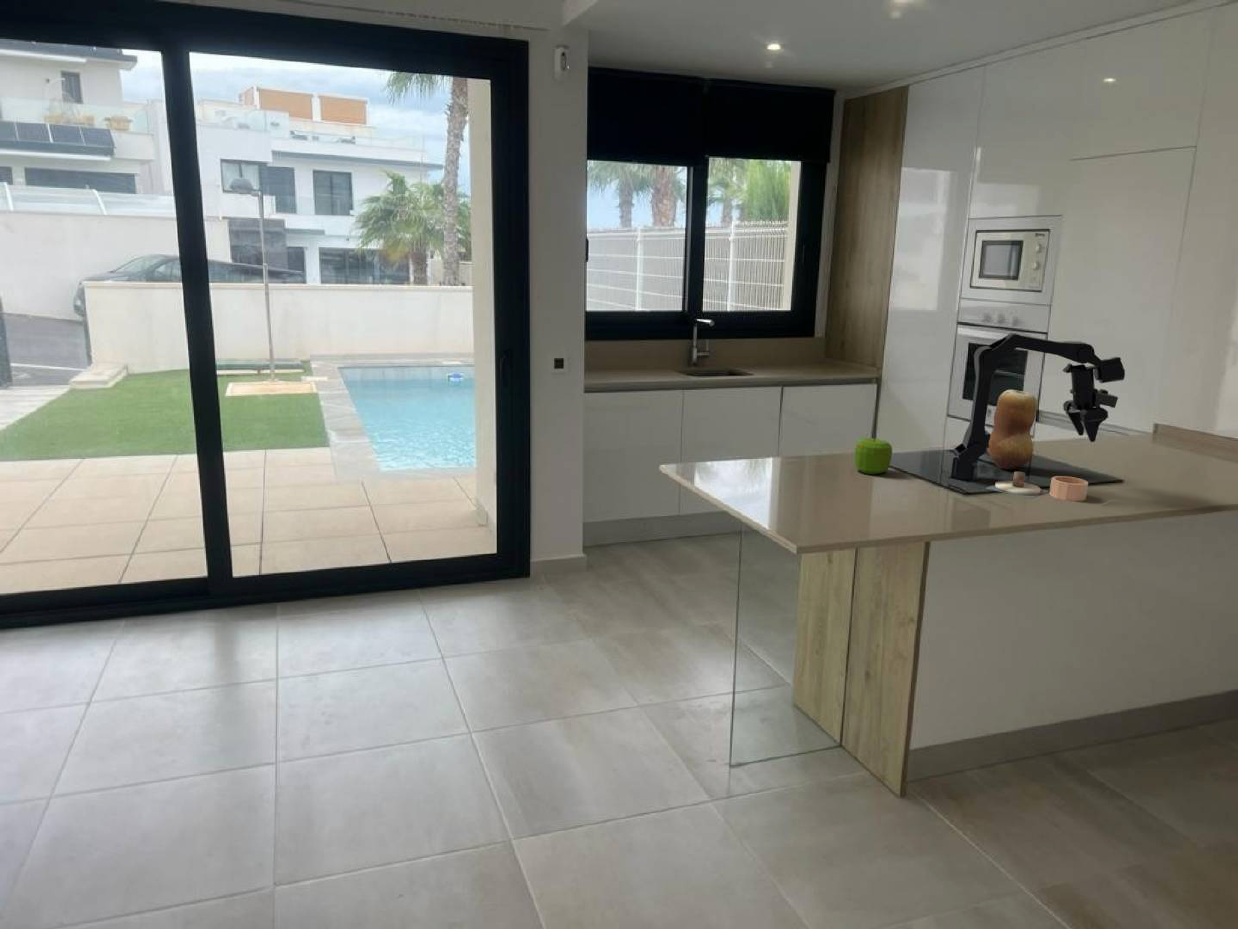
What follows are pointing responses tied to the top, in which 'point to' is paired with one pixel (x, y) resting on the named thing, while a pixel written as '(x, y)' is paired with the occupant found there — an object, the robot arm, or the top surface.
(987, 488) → the mat
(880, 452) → the apple
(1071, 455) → the top surface
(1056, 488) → the bowl
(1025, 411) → the butternut squash
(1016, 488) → the lid
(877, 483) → the top surface
